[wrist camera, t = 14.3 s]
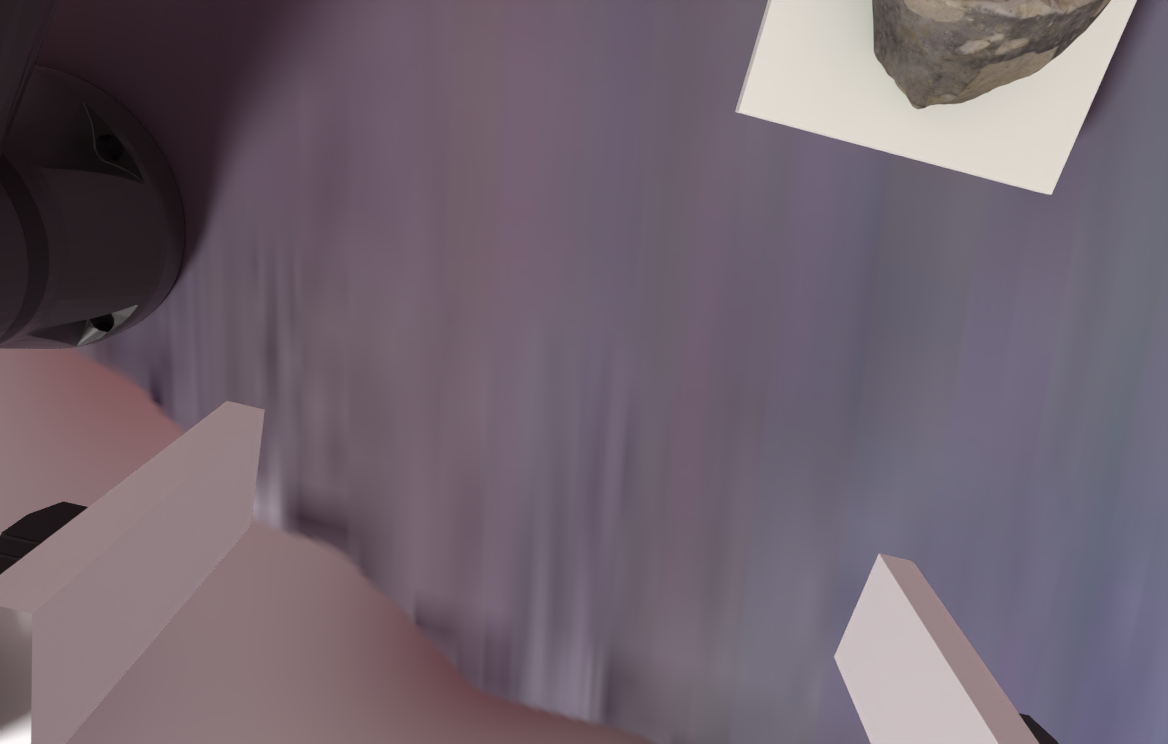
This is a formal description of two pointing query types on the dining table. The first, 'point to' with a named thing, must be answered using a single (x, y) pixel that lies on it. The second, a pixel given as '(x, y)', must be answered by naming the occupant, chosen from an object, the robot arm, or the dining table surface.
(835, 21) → the stand
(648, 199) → the dining table surface
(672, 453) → the dining table surface
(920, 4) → the fossil
